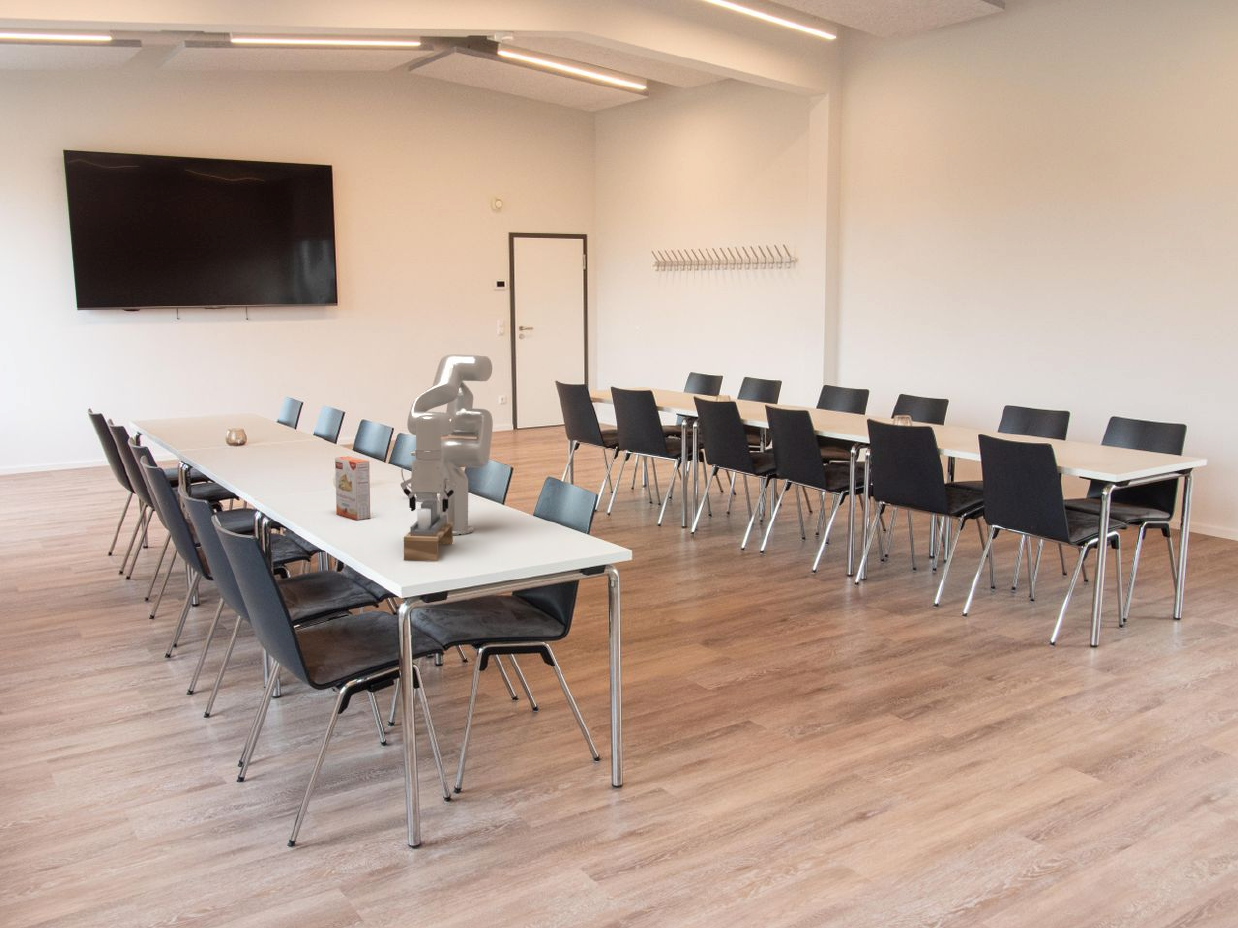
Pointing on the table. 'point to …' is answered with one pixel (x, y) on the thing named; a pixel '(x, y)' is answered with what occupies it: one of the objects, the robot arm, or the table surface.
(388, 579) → the table surface
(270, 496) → the table surface
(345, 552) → the table surface
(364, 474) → the cracker box
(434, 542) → the curved wooden channel
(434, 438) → the robot arm
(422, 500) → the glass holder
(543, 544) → the table surface
